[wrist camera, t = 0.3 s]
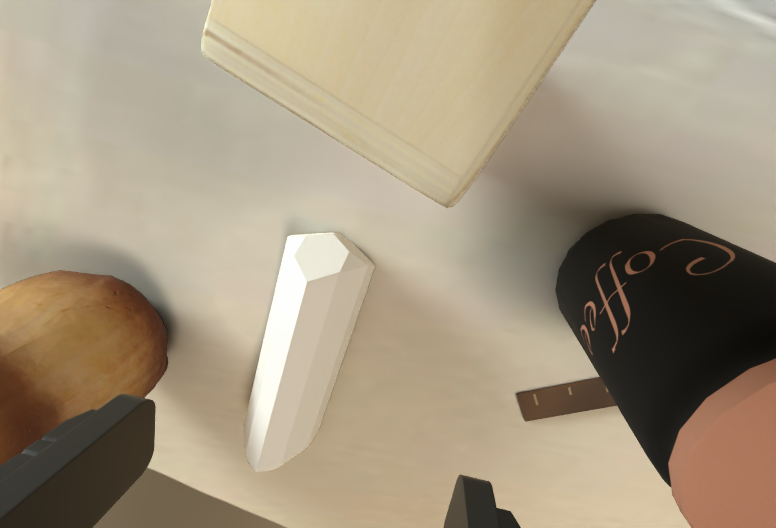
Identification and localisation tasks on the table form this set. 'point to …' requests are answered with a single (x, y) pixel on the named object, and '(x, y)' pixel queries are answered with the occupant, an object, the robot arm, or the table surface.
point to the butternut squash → (72, 351)
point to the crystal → (303, 345)
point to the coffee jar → (684, 357)
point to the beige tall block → (398, 73)
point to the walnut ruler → (565, 399)
